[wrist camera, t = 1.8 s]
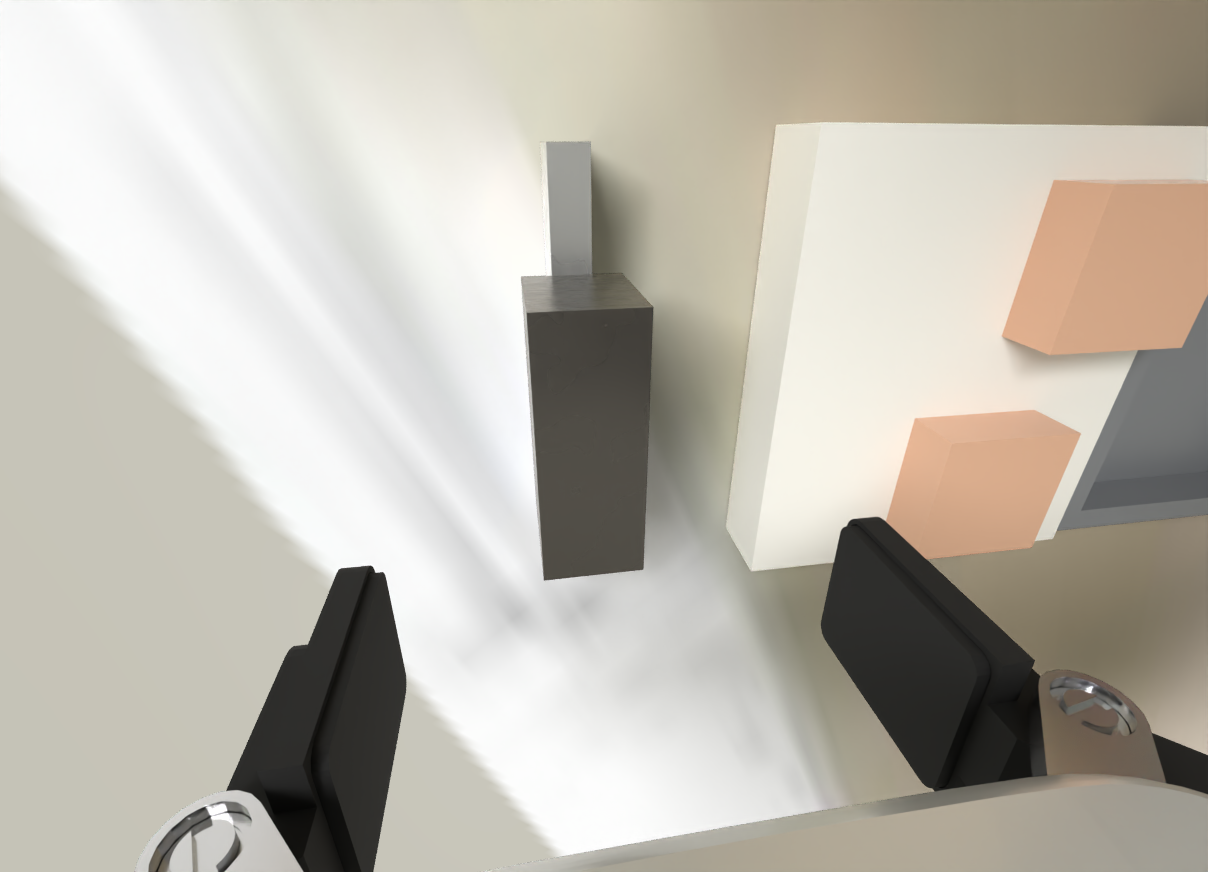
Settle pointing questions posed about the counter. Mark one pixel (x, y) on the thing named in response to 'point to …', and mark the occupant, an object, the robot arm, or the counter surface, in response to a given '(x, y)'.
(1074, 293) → the tile
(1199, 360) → the tray
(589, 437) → the dark block with bar
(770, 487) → the offwhite board
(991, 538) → the tile
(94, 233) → the counter surface
